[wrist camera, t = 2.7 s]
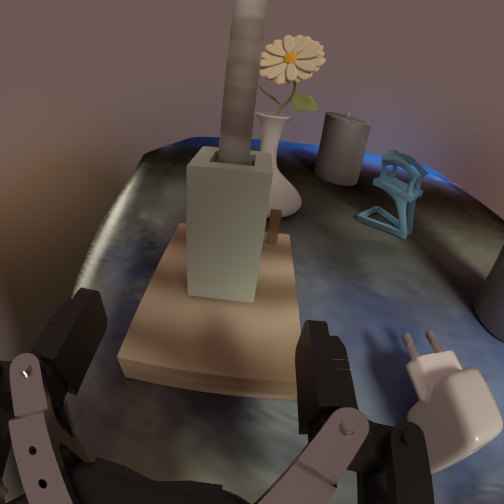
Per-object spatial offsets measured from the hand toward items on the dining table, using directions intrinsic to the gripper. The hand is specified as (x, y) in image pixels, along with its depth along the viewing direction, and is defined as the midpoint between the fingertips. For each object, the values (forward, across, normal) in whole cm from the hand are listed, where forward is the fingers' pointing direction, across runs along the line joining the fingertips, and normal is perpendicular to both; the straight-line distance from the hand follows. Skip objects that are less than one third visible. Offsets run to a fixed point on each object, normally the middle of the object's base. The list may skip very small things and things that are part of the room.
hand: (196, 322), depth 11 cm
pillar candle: (+52, -19, +9) cm, 57 cm away
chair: (+32, -24, +10) cm, 41 cm away
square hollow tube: (+11, 0, +7) cm, 13 cm away
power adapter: (+1, -16, +10) cm, 19 cm away
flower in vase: (+31, -4, +10) cm, 33 cm away
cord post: (+11, 0, +10) cm, 15 cm away
